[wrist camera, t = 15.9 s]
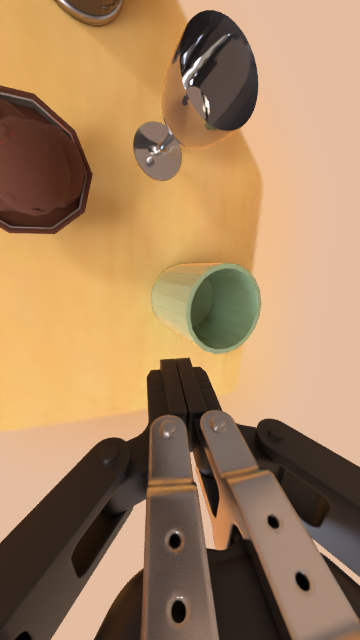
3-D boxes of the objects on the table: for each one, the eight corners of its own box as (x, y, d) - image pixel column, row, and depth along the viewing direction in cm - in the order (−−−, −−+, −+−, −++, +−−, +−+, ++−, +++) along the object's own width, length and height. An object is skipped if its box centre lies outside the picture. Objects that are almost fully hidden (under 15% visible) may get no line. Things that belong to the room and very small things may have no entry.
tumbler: (141, 319, 36) (172, 341, 26) (165, 252, 36) (207, 246, 25) (197, 337, 42) (241, 361, 31) (219, 278, 41) (272, 283, 31)
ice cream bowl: (91, 168, 29) (112, 90, 16) (73, 255, 30) (79, 248, 17) (-15, 119, 24) (-108, -52, 11) (-32, 226, 25) (-134, 184, 12)
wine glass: (171, 195, 34) (236, 152, 21) (121, 160, 31) (163, 81, 17) (191, 144, 34) (270, 69, 21) (143, 103, 30) (203, -21, 17)
